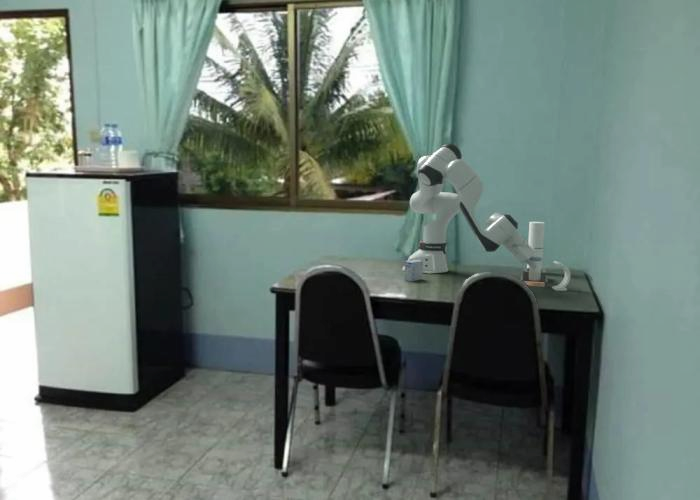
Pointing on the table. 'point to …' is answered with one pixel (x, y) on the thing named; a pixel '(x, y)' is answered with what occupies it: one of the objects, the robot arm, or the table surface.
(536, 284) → the mat
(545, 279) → the filter housing
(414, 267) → the medicine box
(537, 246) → the cylindrical container
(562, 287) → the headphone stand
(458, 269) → the table surface
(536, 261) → the filter cartridge
